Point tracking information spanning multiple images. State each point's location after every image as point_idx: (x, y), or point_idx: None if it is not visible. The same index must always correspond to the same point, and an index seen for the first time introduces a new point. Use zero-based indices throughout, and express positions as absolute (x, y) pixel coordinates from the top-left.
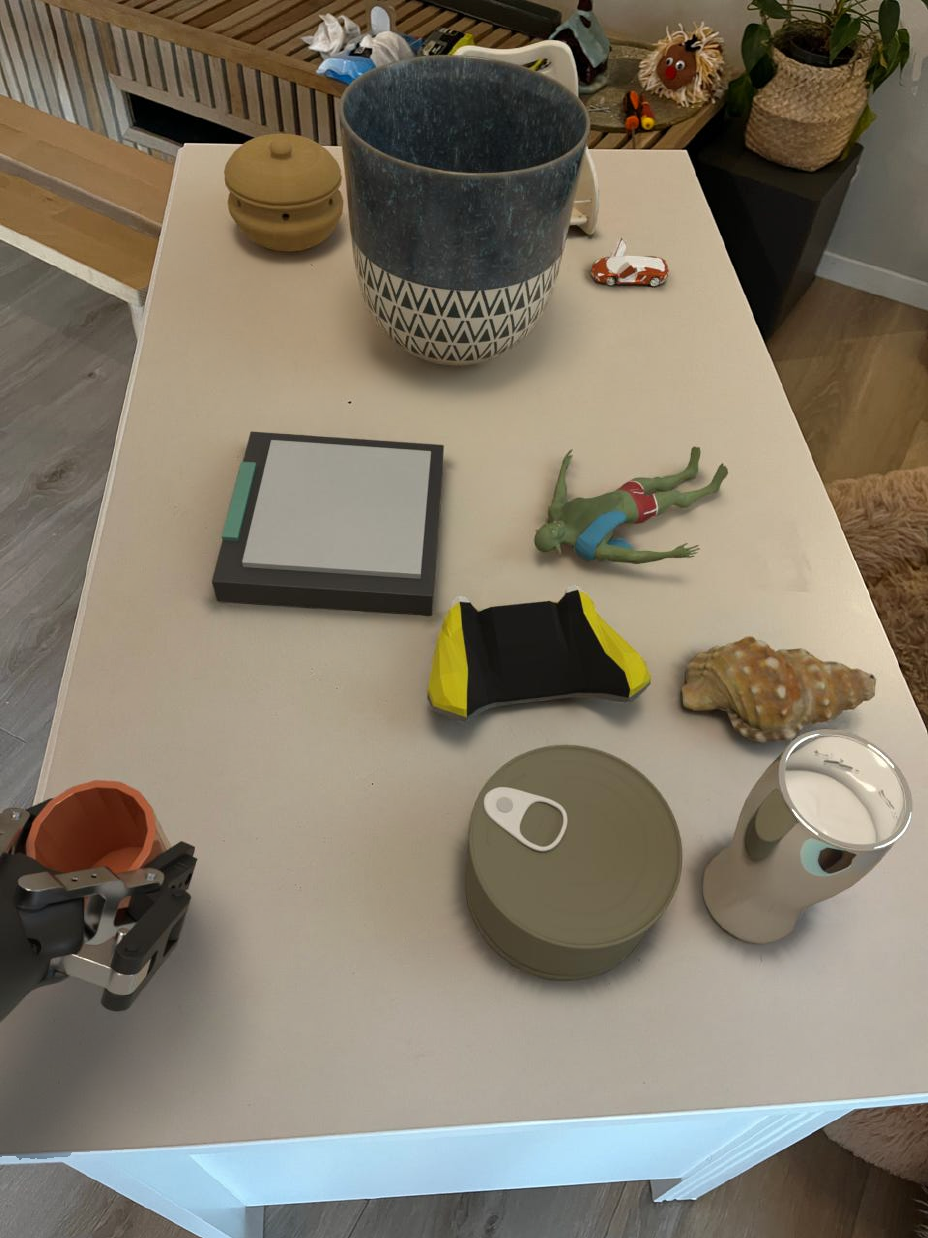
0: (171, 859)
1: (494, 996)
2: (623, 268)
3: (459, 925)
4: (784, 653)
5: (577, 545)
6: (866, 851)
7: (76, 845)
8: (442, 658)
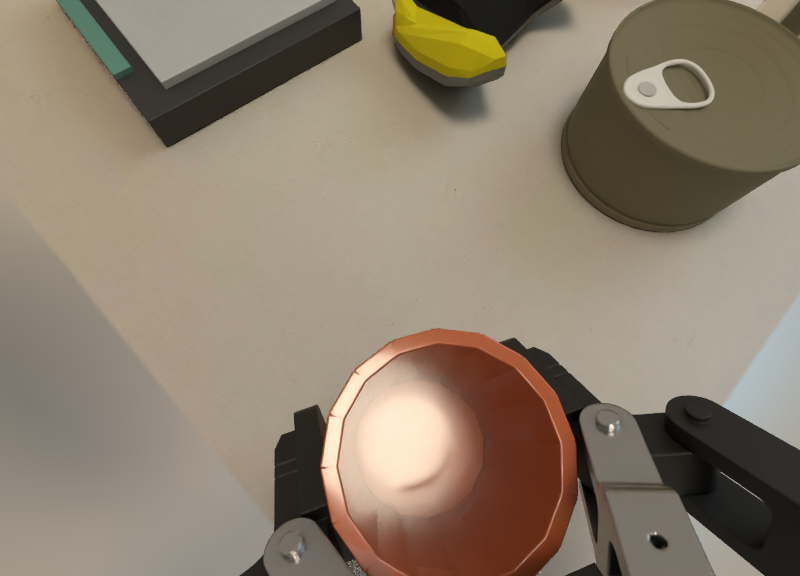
0: (550, 374)
1: (688, 260)
2: None
3: (618, 235)
4: None
5: None
6: None
7: (352, 463)
8: (436, 36)
